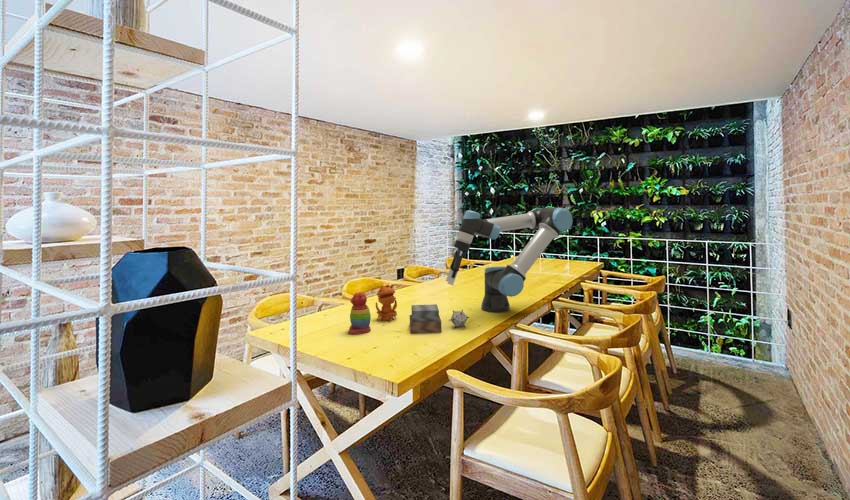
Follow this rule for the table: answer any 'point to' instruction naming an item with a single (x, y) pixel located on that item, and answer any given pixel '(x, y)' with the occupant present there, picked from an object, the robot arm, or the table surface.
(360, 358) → the table surface
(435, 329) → the dark grey tapered block
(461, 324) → the grey spiked ball
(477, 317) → the table surface
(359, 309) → the stacking bear
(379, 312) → the brown upright figure
